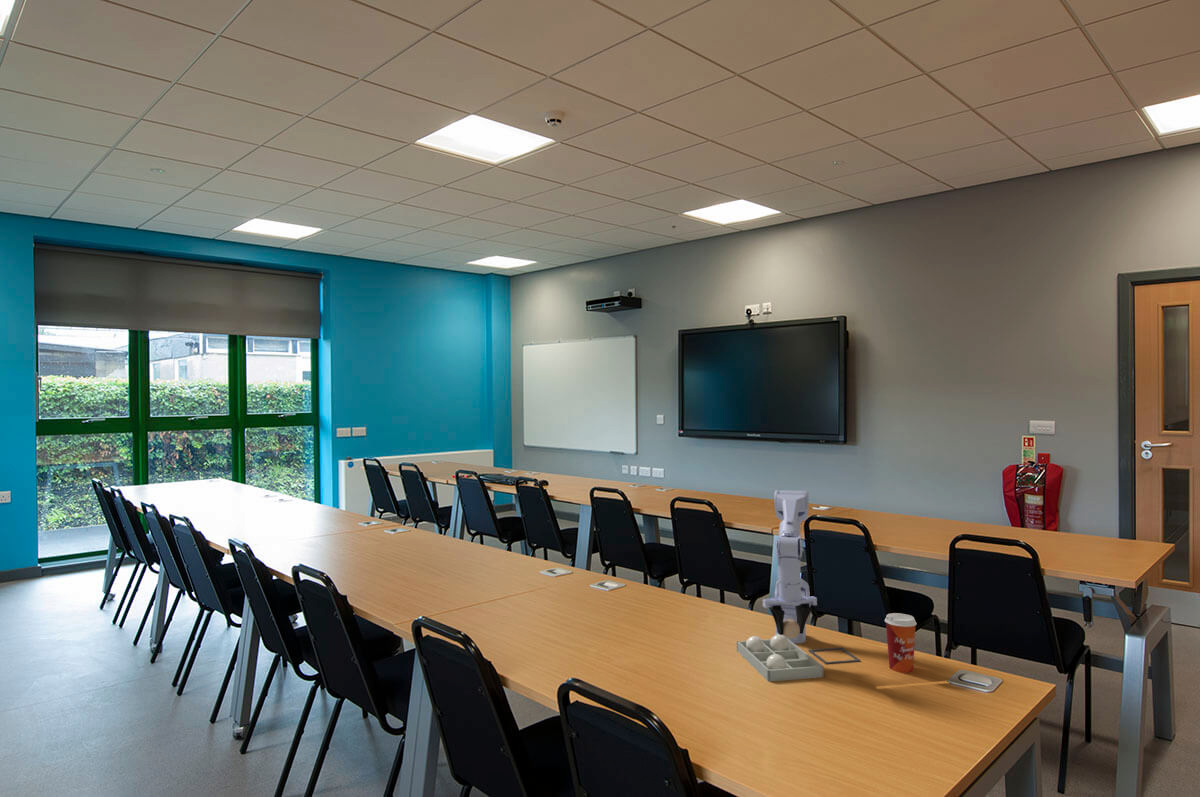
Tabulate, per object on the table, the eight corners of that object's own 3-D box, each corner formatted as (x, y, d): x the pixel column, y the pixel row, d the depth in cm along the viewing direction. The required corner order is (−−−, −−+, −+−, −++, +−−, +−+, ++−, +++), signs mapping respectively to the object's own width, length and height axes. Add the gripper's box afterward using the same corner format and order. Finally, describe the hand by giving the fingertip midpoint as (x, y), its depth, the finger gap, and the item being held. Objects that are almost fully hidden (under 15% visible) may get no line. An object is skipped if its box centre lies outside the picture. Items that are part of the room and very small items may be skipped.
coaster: (808, 653, 194) (808, 649, 194) (841, 651, 196) (841, 647, 196) (825, 667, 184) (825, 662, 184) (860, 664, 186) (860, 660, 186)
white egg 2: (767, 650, 195) (767, 632, 195) (784, 649, 196) (784, 631, 196) (774, 656, 190) (774, 638, 190) (792, 655, 191) (791, 637, 191)
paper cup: (898, 678, 177) (897, 622, 177) (878, 667, 184) (878, 613, 184) (924, 674, 179) (923, 619, 179) (904, 663, 186) (903, 611, 186)
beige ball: (777, 635, 188) (777, 617, 188) (795, 634, 189) (795, 616, 189) (785, 642, 183) (785, 622, 183) (803, 640, 184) (803, 621, 184)
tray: (736, 653, 195) (736, 641, 195) (786, 650, 198) (786, 637, 198) (768, 684, 173) (768, 670, 173) (823, 680, 176) (823, 666, 176)
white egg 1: (743, 652, 194) (743, 634, 194) (760, 650, 195) (760, 632, 195) (749, 658, 189) (749, 640, 189) (767, 657, 190) (767, 638, 190)
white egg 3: (763, 671, 180) (762, 651, 180) (781, 669, 181) (781, 650, 181) (771, 678, 175) (770, 658, 175) (789, 677, 176) (789, 657, 176)
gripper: (769, 587, 181) (770, 639, 181) (822, 584, 183) (822, 636, 183) (759, 580, 188) (760, 631, 188) (809, 577, 190) (810, 627, 190)
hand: (790, 633), depth 186 cm, fingers closed on beige ball, 5 cm apart
